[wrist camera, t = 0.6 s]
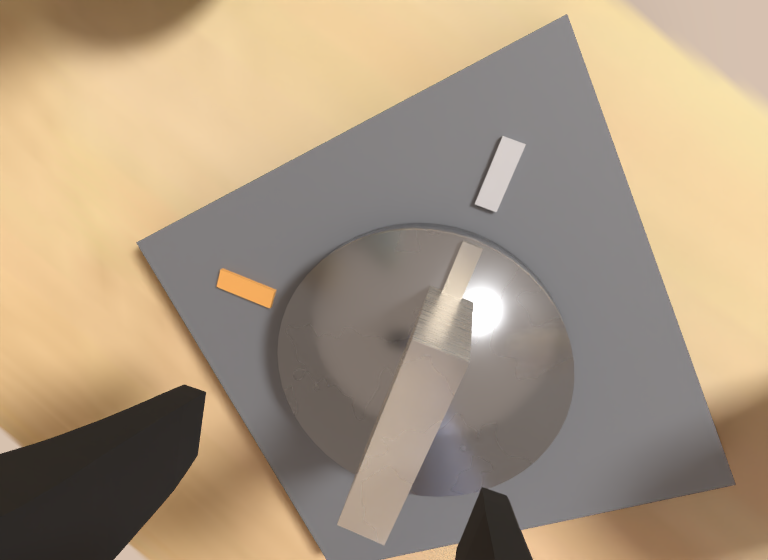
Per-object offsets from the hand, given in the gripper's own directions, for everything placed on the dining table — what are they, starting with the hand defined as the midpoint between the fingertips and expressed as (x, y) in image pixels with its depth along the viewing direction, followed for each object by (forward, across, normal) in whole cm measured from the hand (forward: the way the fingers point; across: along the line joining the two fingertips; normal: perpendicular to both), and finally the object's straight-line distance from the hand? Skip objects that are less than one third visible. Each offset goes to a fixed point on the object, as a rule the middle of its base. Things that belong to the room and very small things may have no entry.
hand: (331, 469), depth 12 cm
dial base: (+9, -1, 0) cm, 10 cm away
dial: (+8, -1, 0) cm, 8 cm away
